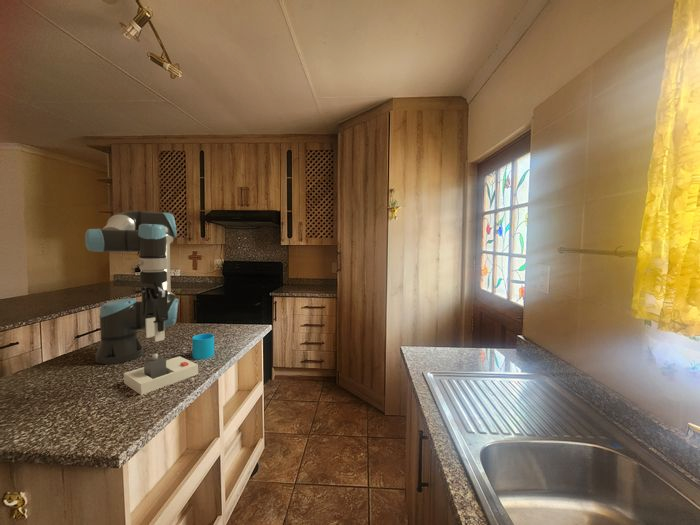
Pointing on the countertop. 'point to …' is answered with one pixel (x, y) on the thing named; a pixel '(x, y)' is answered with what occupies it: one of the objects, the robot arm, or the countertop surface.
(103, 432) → the countertop surface
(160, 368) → the plug
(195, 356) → the mug
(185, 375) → the socket plate
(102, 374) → the countertop surface
